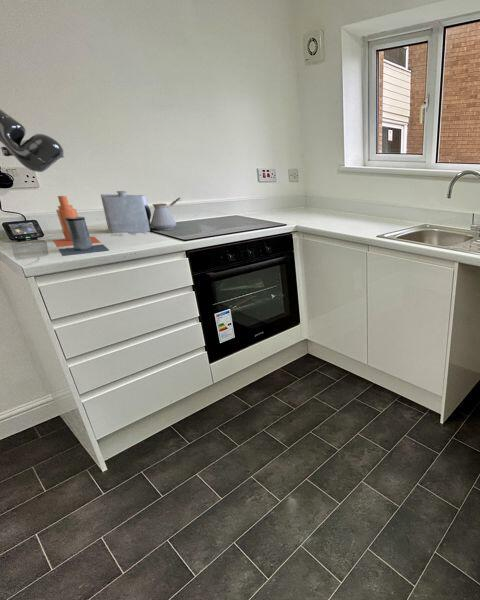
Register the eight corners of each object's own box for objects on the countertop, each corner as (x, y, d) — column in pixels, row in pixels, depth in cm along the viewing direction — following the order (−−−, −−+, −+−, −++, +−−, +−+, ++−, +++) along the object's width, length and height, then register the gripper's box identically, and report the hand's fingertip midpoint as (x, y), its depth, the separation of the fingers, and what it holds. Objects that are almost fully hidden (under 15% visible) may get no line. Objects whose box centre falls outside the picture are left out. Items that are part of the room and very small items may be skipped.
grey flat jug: (154, 228, 187) (147, 194, 180) (151, 230, 182) (143, 194, 176) (112, 228, 182) (103, 193, 175) (107, 230, 177) (98, 194, 171)
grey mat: (62, 256, 131) (61, 254, 131) (58, 250, 139) (58, 249, 138) (109, 250, 141) (108, 249, 141) (103, 245, 148) (103, 244, 148)
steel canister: (75, 251, 136) (65, 219, 131) (73, 248, 139) (63, 217, 135) (94, 249, 140) (85, 218, 135) (92, 246, 143) (83, 216, 139)
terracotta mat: (57, 248, 141) (57, 247, 141) (53, 241, 152) (52, 240, 152) (101, 243, 151) (101, 242, 151) (94, 237, 162) (94, 236, 162)
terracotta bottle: (66, 241, 150) (52, 196, 144) (64, 239, 154) (50, 195, 148) (85, 239, 155) (72, 196, 148) (83, 237, 159) (70, 195, 152)
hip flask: (149, 230, 181) (140, 190, 174) (151, 231, 178) (141, 190, 171) (111, 233, 171) (99, 190, 164) (111, 234, 169) (100, 191, 161)
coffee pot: (166, 231, 180) (160, 201, 174) (146, 230, 181) (139, 200, 176) (194, 225, 200) (190, 197, 194) (176, 223, 201) (171, 197, 196)
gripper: (62, 141, 112) (57, 141, 122) (-3, 137, 102) (-3, 138, 112) (70, 165, 115) (64, 164, 125) (6, 165, 105) (6, 163, 115)
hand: (32, 152), depth 119 cm, fingers open, 8 cm apart
